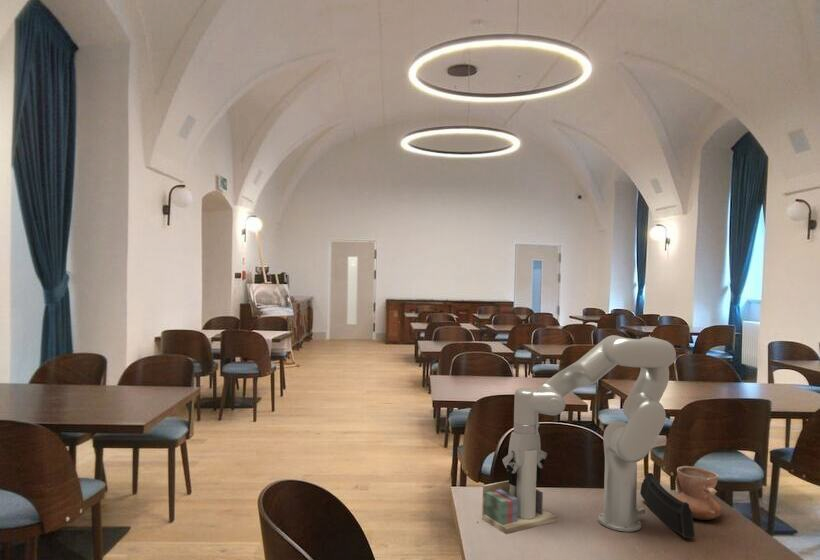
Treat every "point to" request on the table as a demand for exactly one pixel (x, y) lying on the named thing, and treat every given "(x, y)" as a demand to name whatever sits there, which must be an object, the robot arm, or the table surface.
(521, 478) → the paper towel roll
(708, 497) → the ceramic jug
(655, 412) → the robot arm
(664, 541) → the table surface
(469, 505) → the table surface
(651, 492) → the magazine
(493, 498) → the book rack
